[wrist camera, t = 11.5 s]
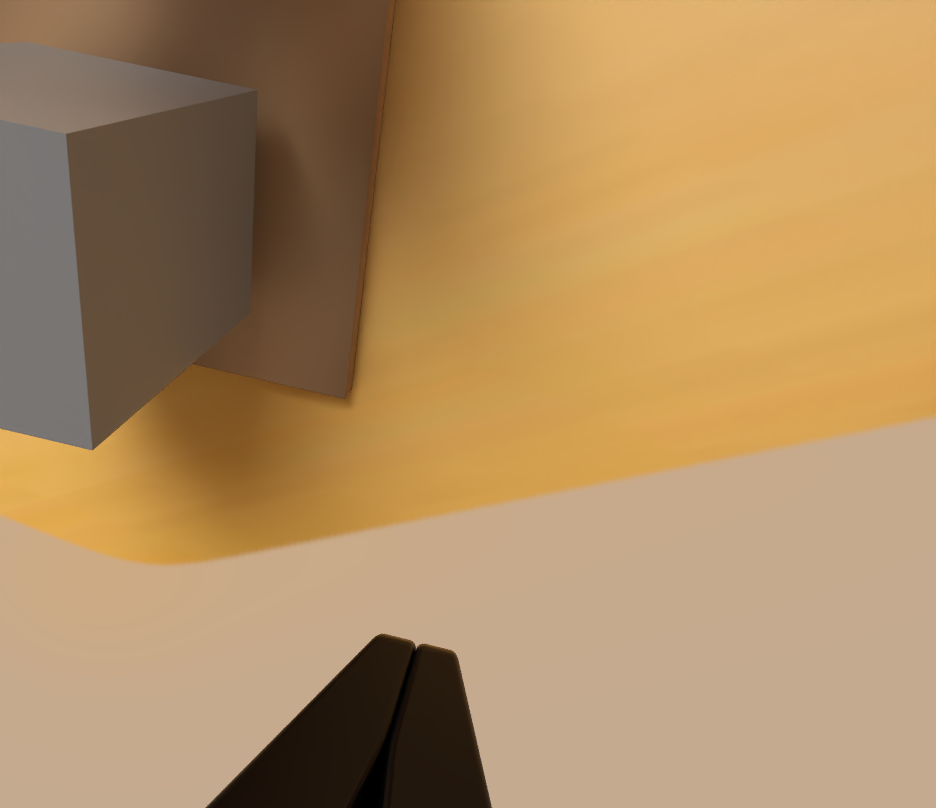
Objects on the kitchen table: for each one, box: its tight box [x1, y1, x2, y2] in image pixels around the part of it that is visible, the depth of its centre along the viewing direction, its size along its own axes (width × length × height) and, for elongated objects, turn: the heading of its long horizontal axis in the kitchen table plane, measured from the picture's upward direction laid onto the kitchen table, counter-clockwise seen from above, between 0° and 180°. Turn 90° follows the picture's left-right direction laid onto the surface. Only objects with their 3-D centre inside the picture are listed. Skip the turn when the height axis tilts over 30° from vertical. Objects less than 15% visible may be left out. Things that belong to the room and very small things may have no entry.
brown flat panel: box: [0, 0, 395, 399], centre depth 15 cm, size 10×10×8 cm
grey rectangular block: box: [0, 42, 258, 450], centre depth 14 cm, size 5×5×7 cm
